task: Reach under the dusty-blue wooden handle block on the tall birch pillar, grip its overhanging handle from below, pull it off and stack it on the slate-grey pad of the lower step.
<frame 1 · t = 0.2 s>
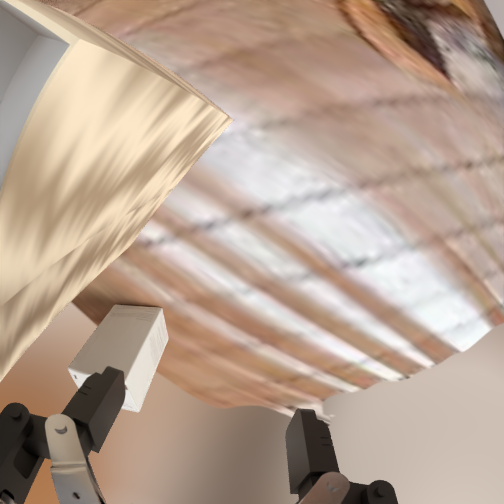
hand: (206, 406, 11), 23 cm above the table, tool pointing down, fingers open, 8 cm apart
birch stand: (151, 166, 29), on the table
skincare box: (143, 319, 38), on the table
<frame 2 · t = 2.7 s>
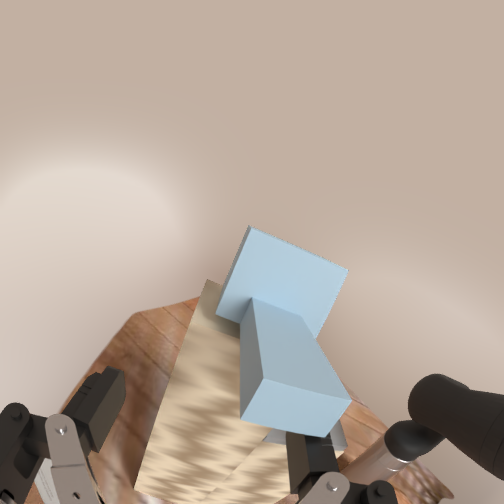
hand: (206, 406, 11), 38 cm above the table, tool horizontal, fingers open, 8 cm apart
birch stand: (196, 490, 32), on the table
blue handle block: (261, 315, 21), point 38 cm above the table, tilted 10°, touching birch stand, gripper
skincare box: (67, 500, 19), on the table
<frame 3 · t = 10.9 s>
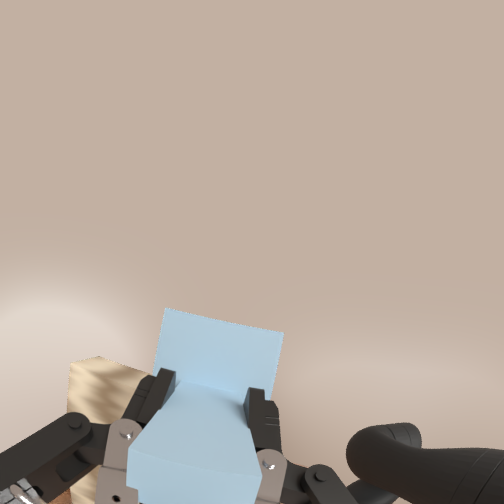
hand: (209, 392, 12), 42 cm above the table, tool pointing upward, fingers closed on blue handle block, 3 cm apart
blue handle block: (208, 401, 17), point 40 cm above the table, touching gripper
when the fingers open (31 cm above the table, at t = 14.9 s): blue handle block drops 1 cm, resting on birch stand.
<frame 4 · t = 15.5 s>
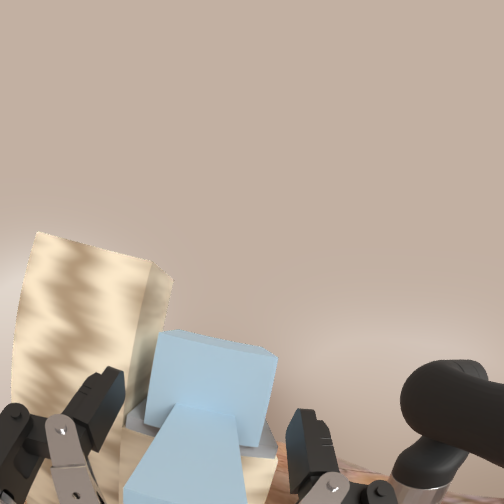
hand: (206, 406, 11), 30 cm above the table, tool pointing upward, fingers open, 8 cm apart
blue handle block: (204, 419, 17), point 27 cm above the table, touching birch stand
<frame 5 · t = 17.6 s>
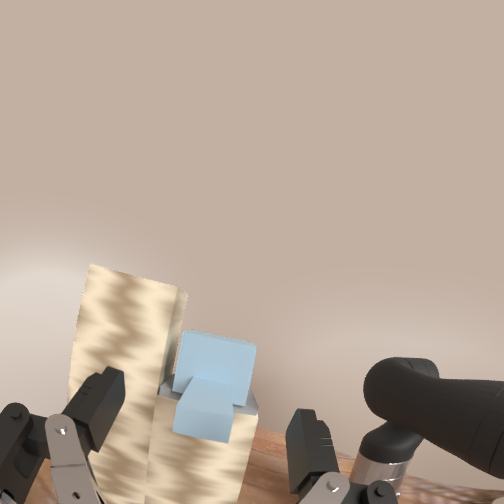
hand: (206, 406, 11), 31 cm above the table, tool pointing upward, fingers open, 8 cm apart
blue handle block: (210, 390, 26), point 27 cm above the table, touching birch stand
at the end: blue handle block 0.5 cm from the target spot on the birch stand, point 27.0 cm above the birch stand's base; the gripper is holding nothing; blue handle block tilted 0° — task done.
